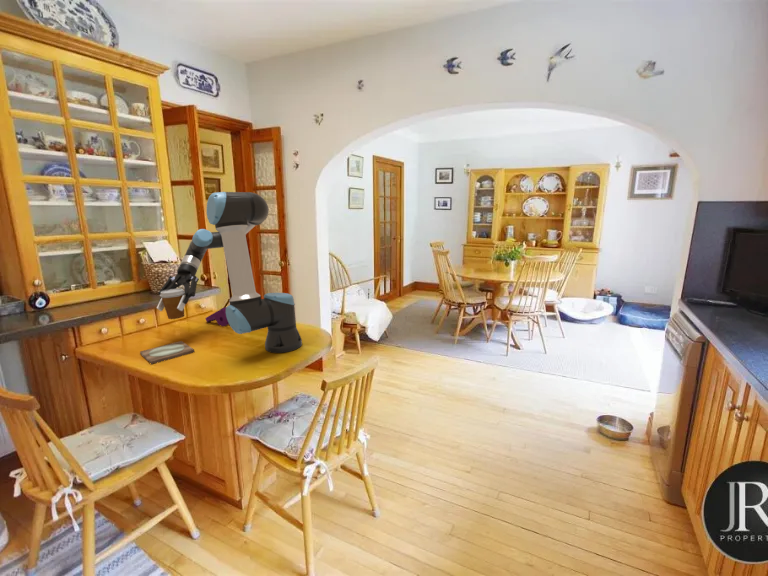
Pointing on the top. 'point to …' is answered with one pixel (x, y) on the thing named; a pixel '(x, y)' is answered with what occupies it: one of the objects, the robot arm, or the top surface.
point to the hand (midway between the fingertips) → (169, 309)
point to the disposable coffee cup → (172, 302)
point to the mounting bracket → (219, 317)
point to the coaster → (166, 352)
